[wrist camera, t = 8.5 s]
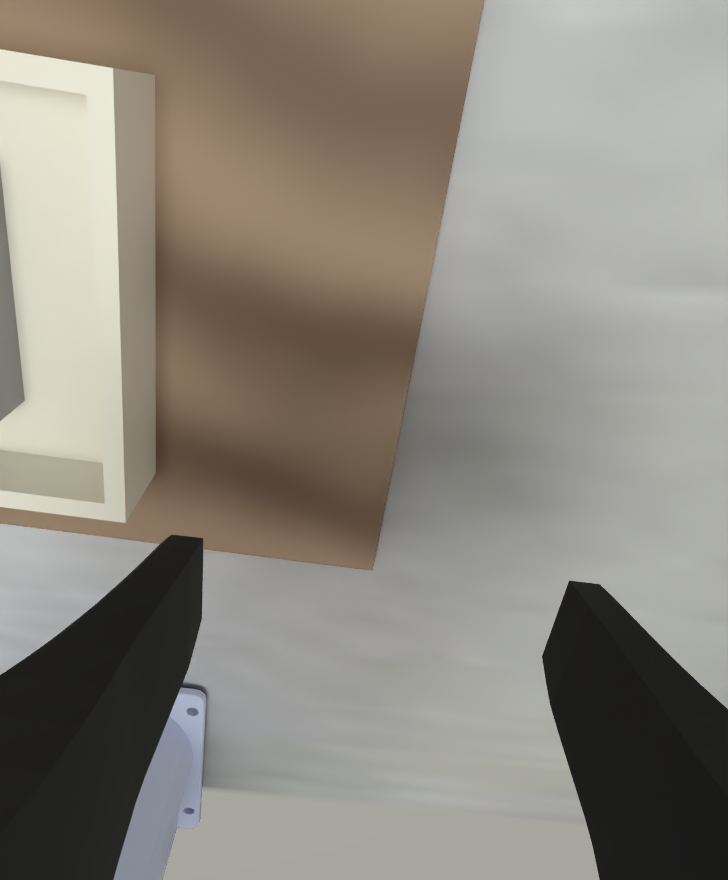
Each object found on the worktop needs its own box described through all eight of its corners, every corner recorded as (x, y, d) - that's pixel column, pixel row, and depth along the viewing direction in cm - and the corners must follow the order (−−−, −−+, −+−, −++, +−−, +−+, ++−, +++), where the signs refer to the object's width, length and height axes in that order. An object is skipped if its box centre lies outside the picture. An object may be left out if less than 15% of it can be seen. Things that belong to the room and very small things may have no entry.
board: (372, 557, 24) (372, 570, 24) (-169, 487, 23) (-186, 499, 23) (500, -105, 15) (506, -115, 15) (-378, -271, 14) (-417, -291, 14)
